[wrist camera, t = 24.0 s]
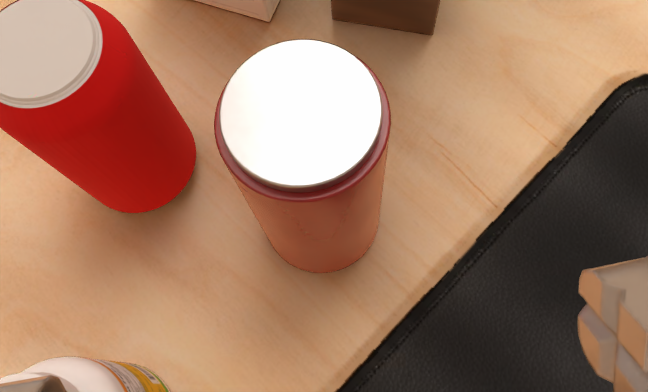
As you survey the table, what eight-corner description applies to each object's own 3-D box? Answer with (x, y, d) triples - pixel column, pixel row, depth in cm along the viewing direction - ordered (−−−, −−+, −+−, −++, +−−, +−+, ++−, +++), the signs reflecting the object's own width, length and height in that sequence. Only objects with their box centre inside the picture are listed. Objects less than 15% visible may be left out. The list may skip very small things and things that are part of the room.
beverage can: (178, 98, 34) (89, -50, 23) (218, 190, 32) (141, 80, 21) (77, 141, 34) (-66, 13, 22) (112, 237, 32) (-26, 151, 20)
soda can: (252, 260, 31) (187, 176, 19) (280, 155, 33) (236, 18, 21) (366, 284, 30) (372, 213, 18) (388, 175, 32) (407, 45, 20)
